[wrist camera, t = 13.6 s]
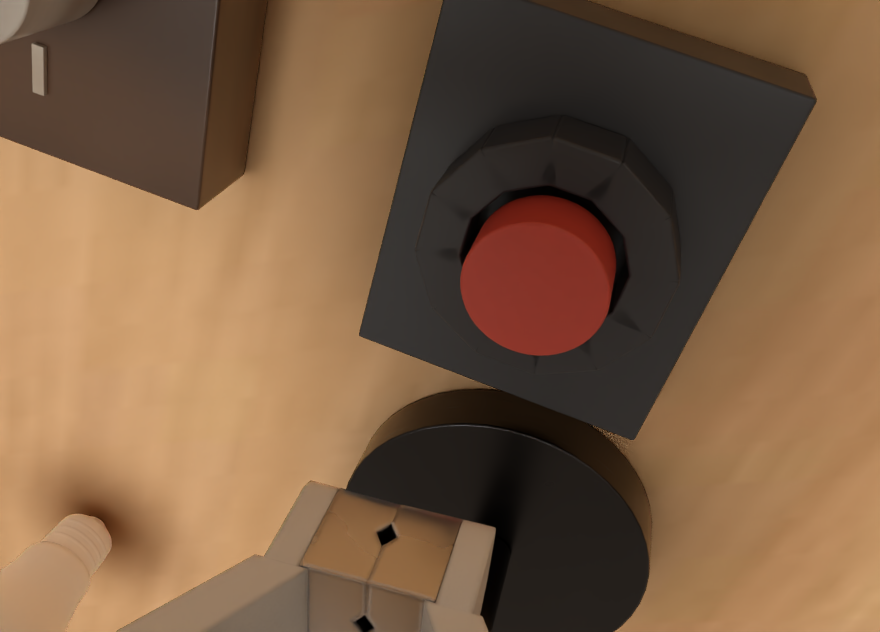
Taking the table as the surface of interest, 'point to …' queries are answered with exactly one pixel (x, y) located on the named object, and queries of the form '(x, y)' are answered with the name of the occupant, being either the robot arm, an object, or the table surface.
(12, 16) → the dimmer knob
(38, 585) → the lightbulb
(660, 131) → the switch block
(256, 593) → the robot arm
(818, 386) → the table surface
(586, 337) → the button
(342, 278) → the table surface
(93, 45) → the panel
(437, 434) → the desk lamp
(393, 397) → the table surface
